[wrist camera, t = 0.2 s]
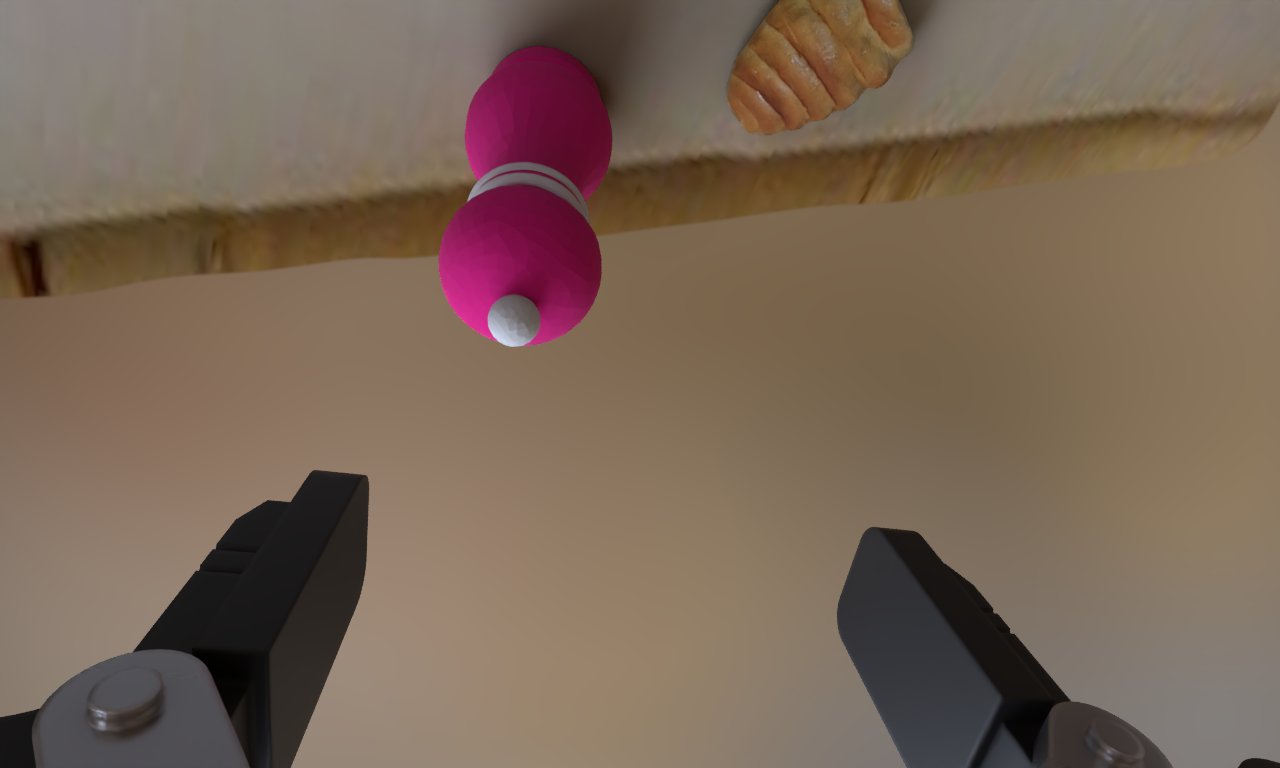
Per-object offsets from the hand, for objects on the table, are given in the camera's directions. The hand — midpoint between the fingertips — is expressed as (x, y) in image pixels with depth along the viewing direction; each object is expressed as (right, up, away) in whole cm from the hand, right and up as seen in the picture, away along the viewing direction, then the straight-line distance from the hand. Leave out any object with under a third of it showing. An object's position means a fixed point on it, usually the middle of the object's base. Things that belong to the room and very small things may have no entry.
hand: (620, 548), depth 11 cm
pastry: (+10, +21, +25) cm, 34 cm away
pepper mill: (-5, +18, +26) cm, 32 cm away
